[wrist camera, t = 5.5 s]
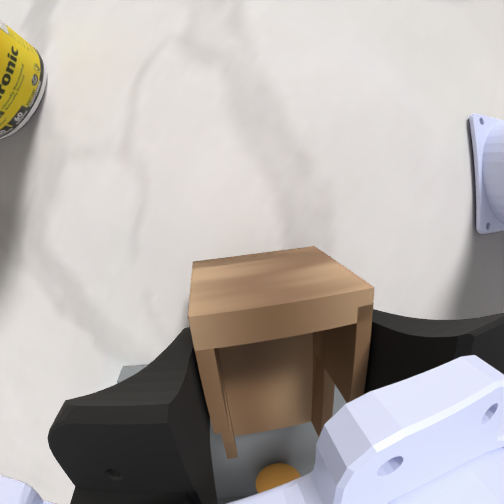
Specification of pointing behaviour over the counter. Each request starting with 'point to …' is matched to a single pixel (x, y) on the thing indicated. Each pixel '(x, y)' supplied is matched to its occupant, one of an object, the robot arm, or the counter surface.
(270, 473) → the ball
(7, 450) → the counter surface
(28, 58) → the supplement bottle
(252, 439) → the tray
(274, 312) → the box
